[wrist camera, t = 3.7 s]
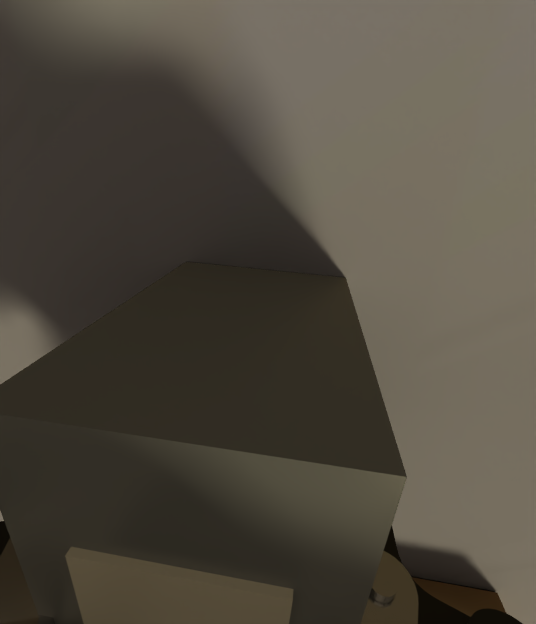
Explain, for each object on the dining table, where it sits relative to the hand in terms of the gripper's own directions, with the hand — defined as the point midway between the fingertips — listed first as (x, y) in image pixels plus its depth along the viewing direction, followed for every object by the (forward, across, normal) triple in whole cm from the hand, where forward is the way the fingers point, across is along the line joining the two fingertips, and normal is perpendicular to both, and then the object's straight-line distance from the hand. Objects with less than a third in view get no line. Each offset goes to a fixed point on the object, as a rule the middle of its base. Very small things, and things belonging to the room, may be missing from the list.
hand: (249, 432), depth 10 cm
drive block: (+1, 0, 0) cm, 1 cm away
